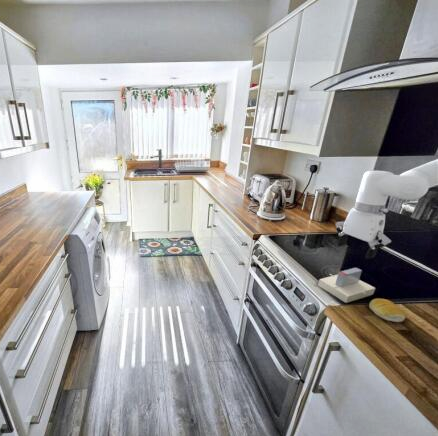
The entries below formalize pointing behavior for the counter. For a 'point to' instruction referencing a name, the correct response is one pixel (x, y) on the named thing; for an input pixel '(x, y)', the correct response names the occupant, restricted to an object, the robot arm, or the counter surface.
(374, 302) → the bread roll
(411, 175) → the robot arm
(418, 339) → the counter surface
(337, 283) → the grey rectangular block
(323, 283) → the cream flat tabbed slab
